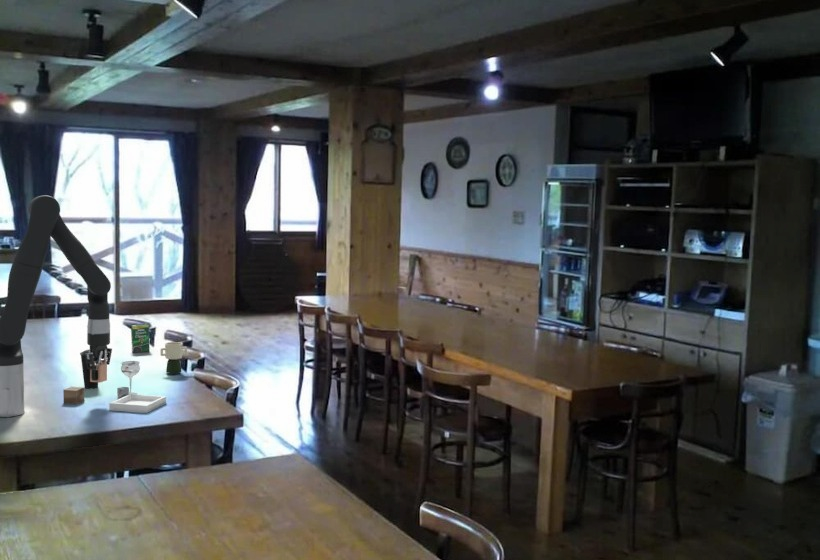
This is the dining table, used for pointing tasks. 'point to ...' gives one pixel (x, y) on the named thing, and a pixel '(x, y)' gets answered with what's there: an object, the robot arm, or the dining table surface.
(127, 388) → the grey cube
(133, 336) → the coffee box
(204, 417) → the dining table surface
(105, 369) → the terracotta block
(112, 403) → the tray
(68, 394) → the walnut cube
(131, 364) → the wineglass
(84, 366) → the drinking cup
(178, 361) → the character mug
